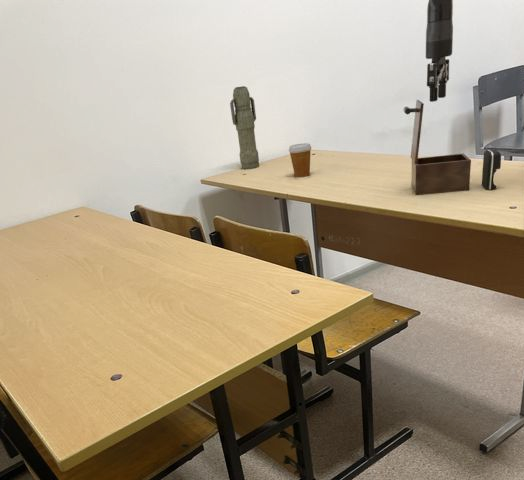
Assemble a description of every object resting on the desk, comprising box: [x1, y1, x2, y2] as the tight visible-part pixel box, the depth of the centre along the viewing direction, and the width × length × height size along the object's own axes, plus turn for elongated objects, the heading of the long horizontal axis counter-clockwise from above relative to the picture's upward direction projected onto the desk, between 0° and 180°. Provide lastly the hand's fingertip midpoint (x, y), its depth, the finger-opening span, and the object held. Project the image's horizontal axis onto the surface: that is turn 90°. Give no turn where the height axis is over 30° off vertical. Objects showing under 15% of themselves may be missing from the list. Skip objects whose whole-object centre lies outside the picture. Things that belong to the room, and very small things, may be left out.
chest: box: [410, 152, 472, 196], centre depth 175 cm, size 17×12×9 cm
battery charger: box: [481, 149, 502, 190], centre depth 168 cm, size 7×4×11 cm, turn 176°
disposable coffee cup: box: [288, 142, 312, 178], centre depth 221 cm, size 10×10×12 cm
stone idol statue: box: [229, 85, 260, 170], centre depth 247 cm, size 9×12×35 cm
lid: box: [402, 99, 425, 164], centre depth 170 cm, size 18×12×5 cm
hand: (437, 99), depth 163 cm, fingers open, 8 cm apart
